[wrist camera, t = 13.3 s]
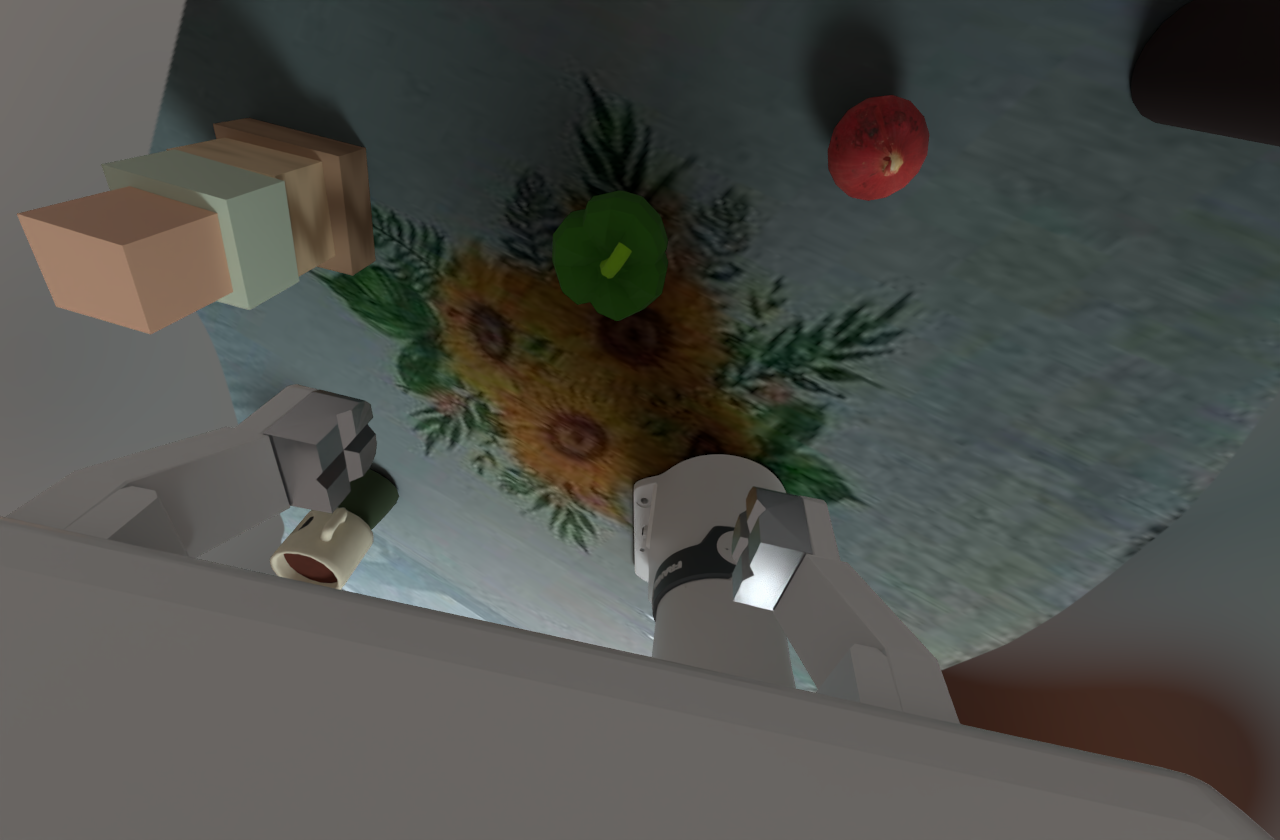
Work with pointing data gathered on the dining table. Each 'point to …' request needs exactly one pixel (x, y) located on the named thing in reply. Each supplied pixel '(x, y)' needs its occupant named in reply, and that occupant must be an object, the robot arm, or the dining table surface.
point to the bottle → (1214, 70)
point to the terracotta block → (129, 257)
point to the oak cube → (300, 187)
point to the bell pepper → (612, 254)
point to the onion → (878, 147)
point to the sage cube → (225, 215)
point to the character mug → (336, 535)
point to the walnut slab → (341, 182)
